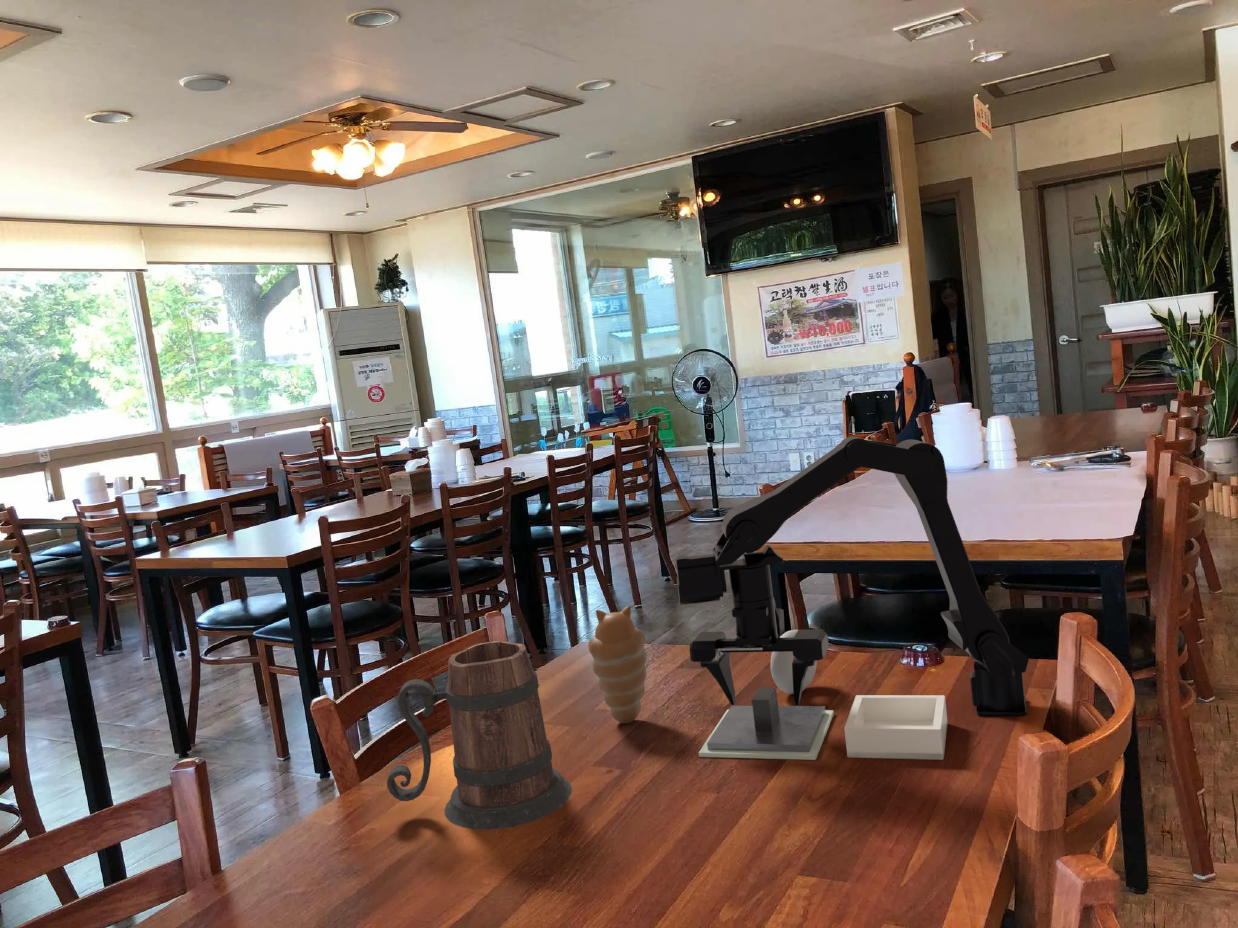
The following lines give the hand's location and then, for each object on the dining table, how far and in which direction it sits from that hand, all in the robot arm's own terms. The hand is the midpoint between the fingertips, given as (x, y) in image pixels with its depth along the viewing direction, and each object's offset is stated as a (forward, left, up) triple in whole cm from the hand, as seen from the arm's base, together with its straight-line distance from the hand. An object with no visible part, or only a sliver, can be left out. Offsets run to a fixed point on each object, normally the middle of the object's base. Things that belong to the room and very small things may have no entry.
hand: (765, 704), depth 140 cm
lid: (0, 0, -4) cm, 4 cm away
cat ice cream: (+23, -4, -5) cm, 24 cm away
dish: (-18, +1, -4) cm, 19 cm away
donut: (-1, -17, -5) cm, 18 cm away
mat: (0, 0, -4) cm, 4 cm away
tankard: (+33, +24, -5) cm, 41 cm away
